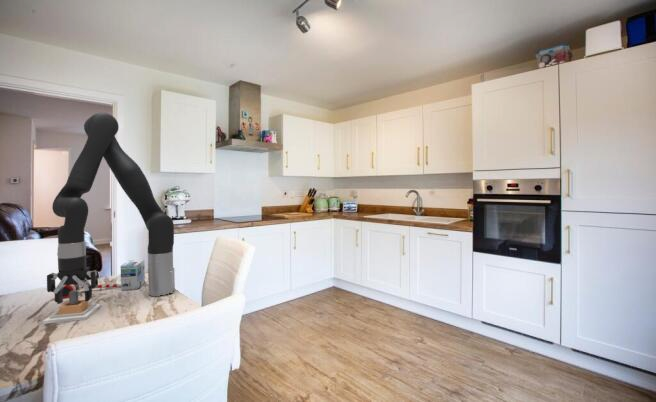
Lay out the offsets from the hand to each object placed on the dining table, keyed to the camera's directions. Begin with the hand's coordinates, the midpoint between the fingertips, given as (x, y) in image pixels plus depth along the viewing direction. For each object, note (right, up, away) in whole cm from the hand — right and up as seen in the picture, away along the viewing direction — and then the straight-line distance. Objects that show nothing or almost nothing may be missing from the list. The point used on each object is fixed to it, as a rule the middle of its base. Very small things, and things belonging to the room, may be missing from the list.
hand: (73, 301), depth 108 cm
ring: (0, -3, 0) cm, 3 cm away
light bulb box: (+1, -3, +31) cm, 31 cm away
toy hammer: (-14, -4, +24) cm, 28 cm away
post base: (0, -4, 0) cm, 4 cm away
